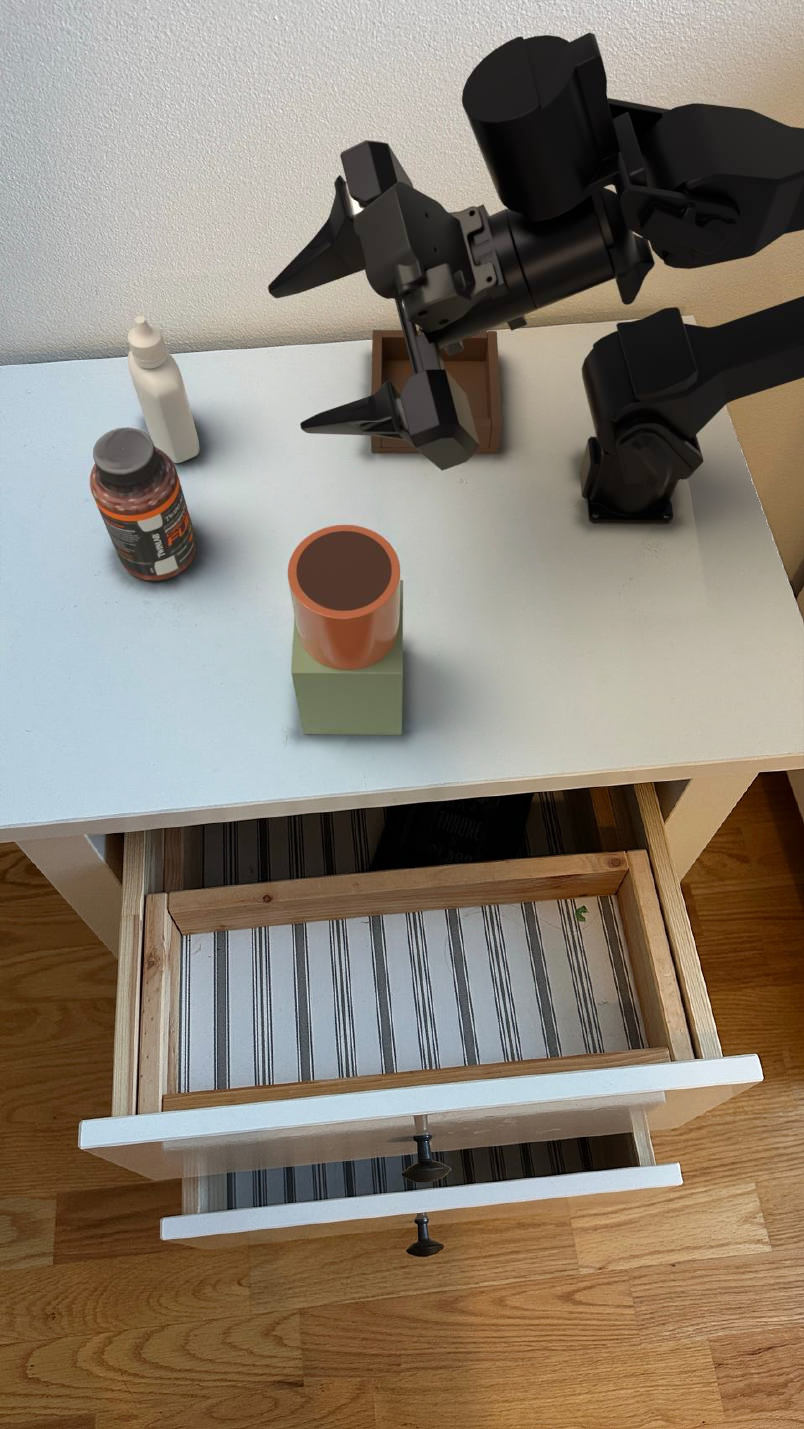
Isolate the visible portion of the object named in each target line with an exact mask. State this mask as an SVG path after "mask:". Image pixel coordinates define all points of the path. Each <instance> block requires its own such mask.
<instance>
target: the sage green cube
mask: <svg viewBox="0 0 804 1429" xmlns="http://www.w3.org/2000/svg"><path fill="white" fill-rule="evenodd" d="M293 615H294V614H293ZM290 667H291V669H290V674H291V679H292V683H293V688H294V694H295V699H296V704H297V710H298V714H299V720H300V724H301V729H302V733H303V735H355V736H356V735H360V736H361V735H363V736H365V735H367V736H368V735H375V736H377V735H378V736H383V735H386V736H391V735H392V736H393V735H394V736H400V735H401V736H402V734H403V688H404V686H403V685H404V684H403V683H404V677H403V676H404V580H403V579H400V628H399V634H398V637H397V640H396V642H395V644H394V646H393V647H392V649H391V650H390V651H389V652H388V653H387V654H386V655H385V656H384V657H383V658H382V659H380V660H379V661H377V662H376V663H374V664H372V665H369V666H367V667H364V668H360V669H354V670H341V669H335V668H331V667H328V666H325V665H323V664H321V663H319V662H318V661H316V660H315V659H313V658H312V657H311V656H310V655H309V654H308V653H307V652H306V651H305V649H304V648H303V646H302V645H301V643H300V640H299V637H298V633H297V627H296V621H295V615H294V616H293V634H292V651H291V666H290Z"/></svg>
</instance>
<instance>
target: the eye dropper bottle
mask: <svg viewBox="0 0 804 1429" xmlns="http://www.w3.org/2000/svg"><path fill="white" fill-rule="evenodd" d="M127 341H128V346H129V348H130V349H129V352H128V353H127V354H128V355H127V366H128V371H129V374H130V377H131V380H132V383H133V384H132V385H133V387H134V390H135V394H136V396H137V399H138V400H137V401H138V403H139V405H140V409H141V412H142V415H143V418H144V421H145V424H146V427H147V431H148V434H149V437H150V438H151V440H152V442H153V444H154V447H156V448H158V449H160V450H162V451H163V452H164V453H166V454H167V456H169V457H170V459H171V460H172V461H173V463H174V464H180V463H183V462H186V461H187V460H190V459H193V458H194V457H197V456H198V455H199V453H200V441H199V436H198V432H197V429H196V425H195V421H194V417H193V413H192V410H191V406H190V402H189V398H188V394H187V390H186V387H185V383H184V379H183V376H182V372H181V370H180V367H179V365H178V363H177V360H175V358H174V356H173V355H172V354H171V353H170V352H169V351H168V350H167V348H166V344H165V339H164V336H163V333H162V331H161V329H160V328H159V327H158V326H156V325H154V324H152V323H148V322H147V320H146V318H145V317H144V316H142V315H139V316H136V317H135V319H134V327H133V328H131V329H130V330H129V332H128V334H127Z"/></svg>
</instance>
